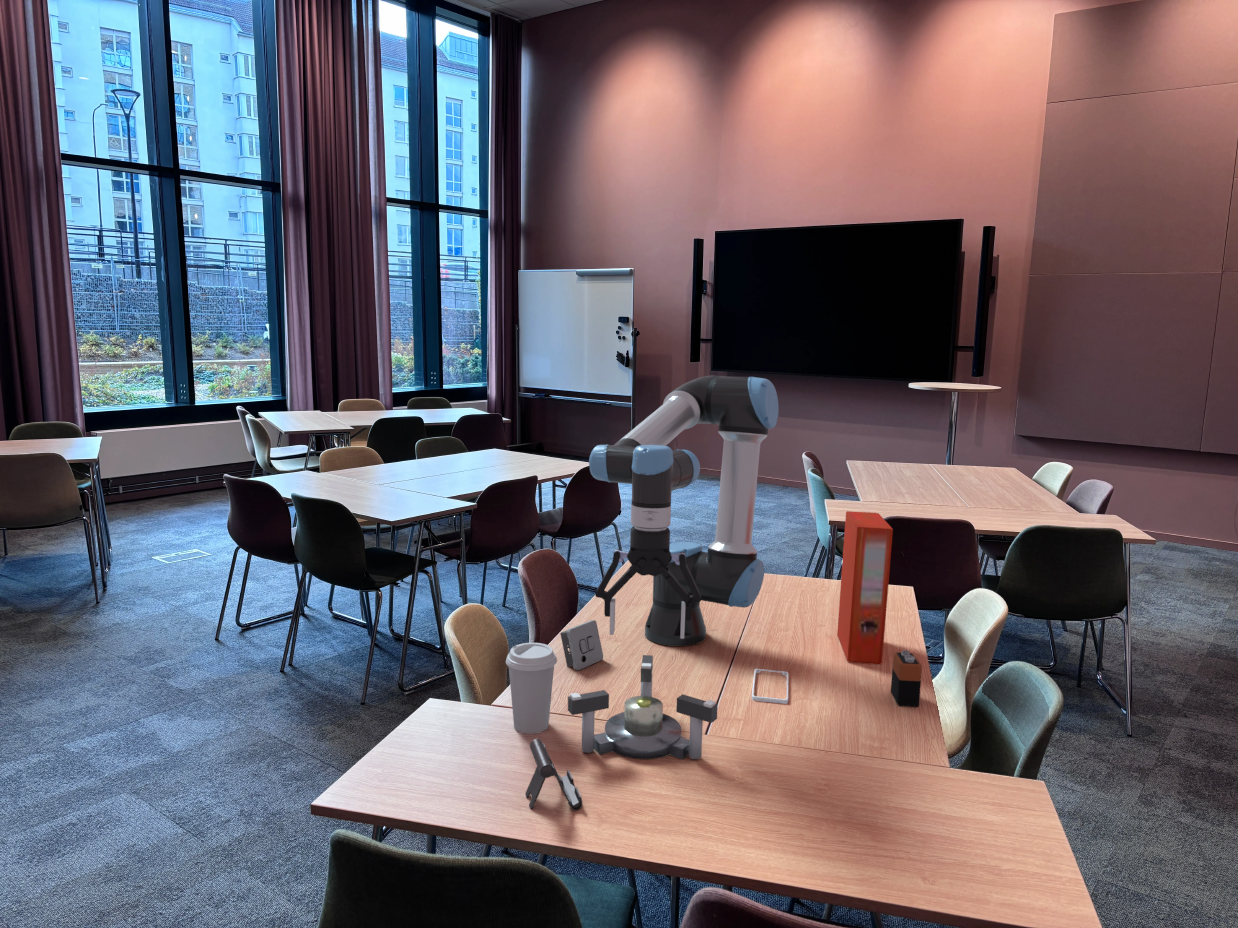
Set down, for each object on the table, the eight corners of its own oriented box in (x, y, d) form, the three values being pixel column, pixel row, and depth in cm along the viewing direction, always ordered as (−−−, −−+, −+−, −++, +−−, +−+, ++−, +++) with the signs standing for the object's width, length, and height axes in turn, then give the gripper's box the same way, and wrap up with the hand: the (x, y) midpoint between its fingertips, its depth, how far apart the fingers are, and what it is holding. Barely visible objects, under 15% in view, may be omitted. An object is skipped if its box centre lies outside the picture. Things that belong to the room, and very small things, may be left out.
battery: (897, 706, 168) (901, 659, 167) (889, 692, 175) (893, 647, 173) (919, 707, 168) (923, 660, 166) (911, 693, 175) (914, 648, 173)
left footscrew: (674, 752, 147) (676, 695, 145) (681, 747, 149) (682, 691, 147) (709, 764, 143) (711, 706, 142) (715, 759, 145) (717, 701, 143)
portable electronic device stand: (582, 810, 129) (583, 760, 128) (532, 817, 127) (533, 767, 126) (569, 781, 138) (570, 734, 137) (522, 787, 136) (522, 740, 134)
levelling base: (638, 711, 164) (639, 674, 162) (712, 735, 154) (713, 696, 153) (582, 748, 149) (582, 707, 148) (660, 777, 140) (661, 734, 138)
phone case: (787, 706, 169) (788, 677, 183) (788, 699, 168) (788, 671, 183) (751, 702, 170) (754, 673, 185) (751, 696, 170) (754, 668, 184)
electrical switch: (577, 672, 182) (574, 631, 182) (559, 668, 186) (557, 627, 185) (604, 660, 190) (602, 620, 189) (587, 656, 193) (584, 617, 192)
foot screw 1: (603, 742, 150) (604, 686, 148) (608, 748, 148) (609, 691, 146) (567, 750, 147) (567, 693, 145) (571, 756, 145) (572, 698, 143)
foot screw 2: (641, 703, 167) (642, 652, 165) (652, 703, 166) (653, 653, 165) (639, 719, 160) (640, 666, 158) (650, 719, 160) (652, 666, 158)
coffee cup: (535, 709, 164) (535, 637, 161) (566, 726, 157) (567, 650, 155) (495, 724, 157) (495, 649, 155) (527, 742, 150) (527, 664, 148)
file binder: (870, 637, 207) (878, 512, 202) (883, 664, 190) (892, 528, 185) (837, 635, 208) (844, 511, 203) (847, 662, 191) (855, 526, 186)
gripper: (582, 528, 155) (580, 637, 158) (717, 534, 153) (712, 644, 156) (587, 520, 162) (585, 624, 165) (715, 525, 160) (711, 630, 163)
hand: (647, 634), depth 160 cm, fingers open, 13 cm apart
